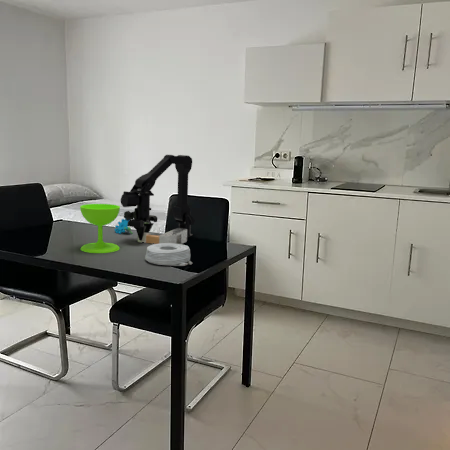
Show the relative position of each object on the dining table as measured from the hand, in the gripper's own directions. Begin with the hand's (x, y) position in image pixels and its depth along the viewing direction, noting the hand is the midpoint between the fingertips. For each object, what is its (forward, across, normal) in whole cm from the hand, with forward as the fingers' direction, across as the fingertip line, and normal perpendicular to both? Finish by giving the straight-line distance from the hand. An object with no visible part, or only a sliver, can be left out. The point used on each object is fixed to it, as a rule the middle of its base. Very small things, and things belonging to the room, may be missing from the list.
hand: (142, 239), depth 208 cm
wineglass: (+1, +21, -9) cm, 23 cm away
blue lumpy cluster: (+1, -14, -17) cm, 22 cm away
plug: (+1, 0, +5) cm, 5 cm away
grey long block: (+1, 0, +15) cm, 15 cm away
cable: (+2, +27, +24) cm, 36 cm away
